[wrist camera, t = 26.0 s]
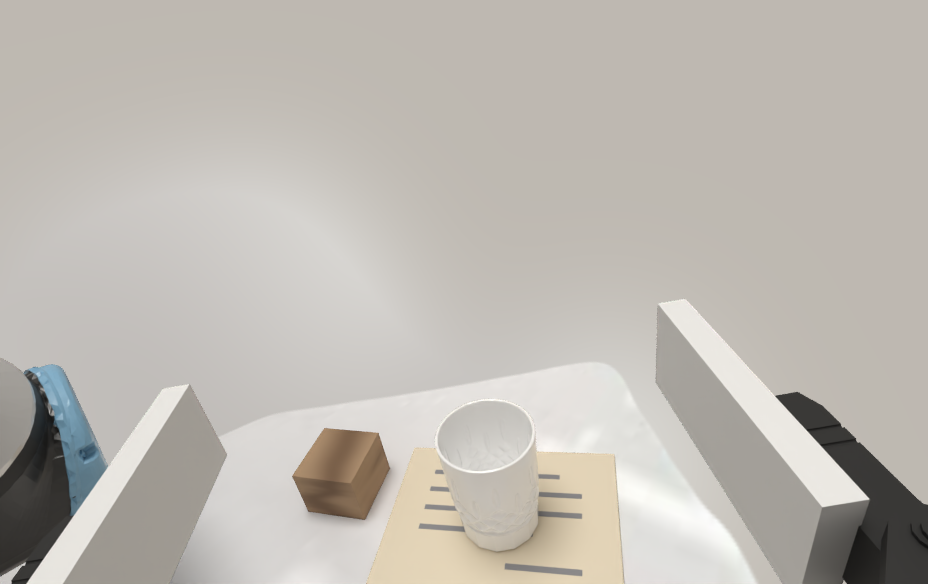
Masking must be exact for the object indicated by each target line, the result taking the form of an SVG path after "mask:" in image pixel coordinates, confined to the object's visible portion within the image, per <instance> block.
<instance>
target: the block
mask: <svg viewBox="0 0 928 584" xmlns="http://www.w3.org/2000/svg"><path fill="white" fill-rule="evenodd" d="M389 469H390V467H389V464H388V461H387V458H386V455H385V452H384V449H383V446H382V443H381V440H380V437H379V433H373V432H362V431H351V430H339V429H328V428H324V430H323V431H322V432H321V434H320V435H319V437H318V438H317V440H316V441H315V443H314V444H313V446H312V447H311V449H310V450H309V452H308V453H307V455H306V456H305V458H304V459H303V461H302V462H301V464H300V465H299V467H298V468H297V470H296V471H295V473H294V474H293V476H292V477H293V479H294V481H295V483H296V485H297V488H298V490H299V492H300V494H301V496H302V498H303V501H304V503H305V505H306V507H307V509H308V511H309V512H315V513H322V514H329V515H336V516H342V517H349V518H356V519H363V520H365V519H366V516H367V514H368V512H369V510H370V508H371V506H372V504H373V502H374V500H375V498H376V496H377V494H378V492H379V490H380V488H381V486H382V484H383V481H384V479H385V477H386V475H387V473H388V471H389Z"/></svg>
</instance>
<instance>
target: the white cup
mask: <svg viewBox="0 0 928 584" xmlns="http://www.w3.org/2000/svg"><path fill="white" fill-rule="evenodd" d="M435 447H436V451H437V454H438V457H439V460H440V463H441V466H442V469H443V472H444V475H445V478H446V481H447V485H448V488H449V491H450V494H451V497H452V500H453V502H454V505H455V508H456V510H457V512H458V513H459V515H460V518H461V521H462V524H463V527H464V530H465V533H466V535H467V537H468V538H469V539H470V540H472V541H473V542H474V543H475V544H476V545H477V546H478V547H480V548H484V549H488V550H491V551H495V552H499V551H505V550H511V549H515V548H517V547H518V546H520V545H521V544H523V543H524V542H526V541H527V540H529V539H530V537H531V536H532V534H533V532H534V531H535V529H536V527H537V525H538V514H539V506H538V497H539V478H538V462H537V447H536V431H535V425H534V422H533V419H532V418H531V416H530V415H529V413H528V412H527V411H526V410H524V409H523V408H522V407H520V406H519V405H517V404H515V403H512V402H509V401H506V400H501V399H482V400H476V401H472V402H469V403H466V404H464V405H462V406H460V407H458V408H456V409H455V410H453V411H452V412H450V413H449V414H448V415H447V416H446V417H445V418H444V419H443V420H442V422H441V423H440V425H439V426H438V429H437V431H436V435H435Z"/></svg>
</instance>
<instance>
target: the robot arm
mask: <svg viewBox="0 0 928 584" xmlns="http://www.w3.org/2000/svg"><path fill="white" fill-rule="evenodd" d="M656 383H657V385H658V387H659V388H660V390H661V391H662V393H663V394H664V396H665V398H666V399H667V401H668V402H669V404H670V406H671V407H672V409H673V411H674V412H675V413H676V415H677V417H678V418H679V420H680V422H681V423H682V425H683V426H684V428H685V429H686V431H687V433H688V434H689V436H690V438H691V439H692V441H693V442H694V444H695V445H696V447H697V448H698V450H699V452H700V453H701V455H702V457H703V458H704V460H705V461H706V463H707V465H708V466H709V468H710V469H711V471H712V472H713V474H714V475H715V477H716V479H717V480H718V482H719V483H720V485H721V487H722V488H723V489H724V491H725V493H726V495H727V496H728V498H729V499H730V501H731V502H732V504H733V506H734V507H735V509H736V511H737V512H738V514H739V515H740V517H741V518H742V520H743V522H744V523H745V525H746V526H747V528H748V530H749V531H750V532H751V534H752V536H753V537H754V539H755V541H756V542H757V544H758V545H759V547H760V549H761V550H762V552H763V553H764V555H765V557H766V558H767V560H768V561H769V563H770V564H771V566H772V568H773V569H774V571H775V572H776V574H777V575H778V577H779V579H780V580H781V582H782V584H842V583H843V580H845V582H846V583H847V584H928V505H926V504H923V503H922V502H921V501H919V500H918V499H917V498H916V497H915V496H914V495H913V494H912V493H911V492H910V491H909V490H908V489H907V488H906V487H905V486H904V485H903V484H902V483H901V482H900V481H898V479H896V478H895V477H894V476H893V475H892V474H891V473H890V472H889V471H888V470H887V469H886V468H885V467H884V466H883V465H882V464H881V463H880V462H879V461H878V460H877V459H876V458H875V457H874V456H873V455H872V454H871V453H870V452H869V451H868V450H867V449H866V448H865V447H864V446H863V445H862V444H861V443H857V441H856V438H855V437H854V436H852V434H851V433H850V432H849V431H848V430H847V429H845V427H844V428H842V427H841V424H840V423H839V422H838V421H837V420H836V419H835V418H834V417H833V416H832V415H831V414H830V413H829V412H828V411H827V410H826V409H825V408H824V407H823V406H822V405H820V404H818V403H816V402H815V401H813V400H811V399H809V398H807V397H805V396H804V395H802V394H800V393H798V392H795V393H789V394H783V395H777V396H774V395H773V394H772V392H771V391H769V389H768V388H767V387H766V386H765V385H764V384H763V383H762V382H761V380H760V379H759V378H758V377H757V376H756V375H755V374H754V373H753V372H752V371H751V370H750V369H749V368H748V366H747V365H746V364H745V363H744V362H743V361H742V360H741V359H740V358H739V357H738V356H737V355H736V353H735V352H734V351H733V350H732V349H731V348H730V347H729V346H728V345H727V344H726V342H724V340H723V339H722V338H721V337H720V336H719V335H718V334H717V333H716V332H715V331H714V329H713V328H712V327H711V326H710V325H709V324H708V323H707V322H706V321H705V320H704V319H703V317H702V316H701V315H700V314H699V313H698V312H697V311H696V310H695V309H694V308H693V307H692V305H691V304H690V303H689V302H688V301H687V300H686V299H682V300H676V301H670V302H664V303H658V312H657V349H656ZM226 456H227V454H226V452H225V450H224V448H223V446H222V444H221V442H220V440H219V438H218V437H217V435H216V433H215V431H214V429H213V427H212V425H211V423H210V421H209V420H208V418H207V416H206V414H205V412H204V410H203V408H202V406H201V404H200V403H199V401H198V399H197V397H196V395H195V394H194V391H193V389H192V388H191V386H190V384H187V385H181V386H176V387H170V388H164V389H162V391H161V392H160V393H159V395H158V396H157V398H156V399H155V401H154V402H153V404H152V405H151V407H150V408H149V409H148V411H147V412H146V414H145V415H144V416H143V418H142V419H141V421H140V422H139V424H138V425H137V426H136V428H135V429H134V431H133V432H132V434H131V435H130V436H129V438H128V439H127V441H126V442H125V444H124V445H123V447H122V448H121V449H120V451H119V452H118V454H117V455H116V456H115V458H114V459H113V461H112V462H111V464H110V465H109V466H108V465H107V463H106V461H105V458H104V456H103V454H102V452H101V449H100V447H99V445H98V443H97V440H96V438H95V436H94V434H93V431H92V429H91V427H90V425H89V423H88V420H87V418H86V416H85V414H84V412H83V410H82V408H81V405H80V403H79V401H78V399H77V397H76V395H75V393H74V390H73V388H72V386H71V384H70V382H69V380H68V378H67V376H66V374H65V372H64V370H63V369H62V368H61V367H59V366H57V365H53V364H51V365H46V366H43V367H39V368H38V367H33V368H31V369H28V370H25V372H24V373H22V372H21V371H20V370H19V369H18V368H17V367H16V366H14V365H13V364H11V363H10V362H8V361H6V360H4V359H2V358H0V576H2V575H4V574H6V573H7V572H9V571H11V570H13V569H14V568H16V567H18V566H20V565H21V564H23V563H25V562H26V565H25V566H22V567H21V568H20V570H19V571H18V572H17V574H16V575H15V576H14V578H13V579H12V584H169V583H170V581H171V579H172V577H173V575H174V572H175V570H176V568H177V566H178V563H179V561H180V559H181V557H182V554H183V552H184V550H185V548H186V546H187V543H188V541H189V539H190V537H191V534H192V532H193V530H194V528H195V525H196V523H197V521H198V519H199V517H200V514H201V512H202V510H203V508H204V505H205V503H206V501H207V499H208V496H209V494H210V492H211V490H212V488H213V485H214V483H215V481H216V479H217V476H218V474H219V472H220V470H221V467H222V465H223V463H224V461H225V459H226Z"/></svg>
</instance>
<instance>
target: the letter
mask: <svg viewBox="0 0 928 584" xmlns="http://www.w3.org/2000/svg"><path fill="white" fill-rule="evenodd" d="M537 462H538V478H539V497H538V506H539V514H538V525H537V527H536V529H535V531H534V532H533V534H532V536H531V537H530V539H529V540H527V541H526V542H524V543H523V544H521V545H520V546H518V547H517V548H515V549H511V550H505V551H499V552H495V551H491V550H488V549H484V548H480V547H478V546H477V545H476V544H475V543H474V542H473V541H472V540H470V539H469V538H468V537H467V535H466V533H465V530H464V527H463V524H462V521H461V518H460V515H459V513H458V512H457V510H456V508H455V505H454V502H453V500H452V497H451V494H450V491H449V488H448V485H447V481H446V478H445V475H444V472H443V469H442V466H441V463H440V460H439V457H438V454H437V451H436V448H414V451H413V454H412V456H411V459H410V462H409V465H408V468H407V470H406V473H405V476H404V479H403V482H402V484H401V487H400V490H399V493H398V496H397V498H396V501H395V504H394V507H393V510H392V512H391V515H390V518H389V521H388V524H387V526H386V529H385V532H384V535H383V538H382V540H381V543H380V546H379V549H378V552H377V554H376V557H375V560H374V563H373V566H372V568H371V571H370V574H369V577H368V580H367V582H366V584H624V580H623V566H622V553H621V539H620V526H619V513H618V499H617V486H616V472H615V459H614V454H594V453H563V452H537Z"/></svg>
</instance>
